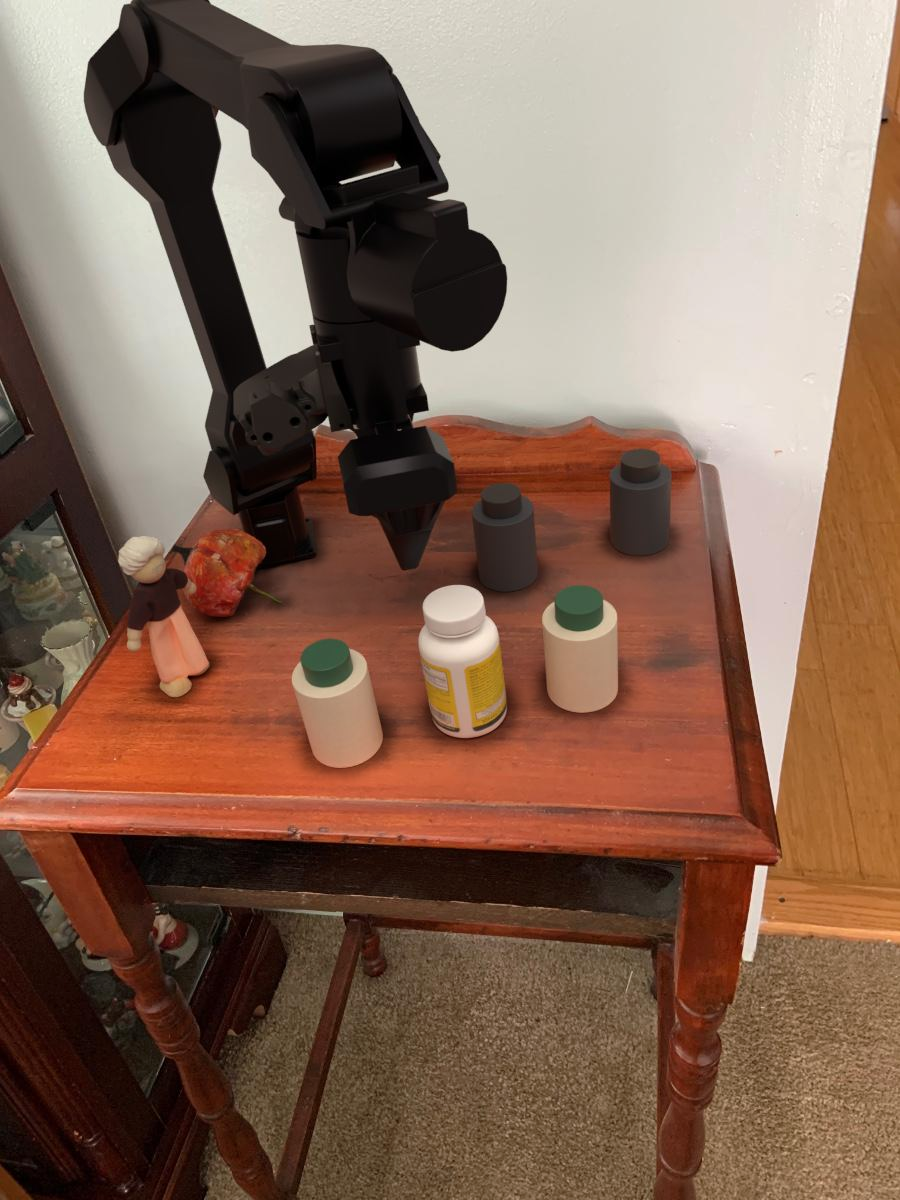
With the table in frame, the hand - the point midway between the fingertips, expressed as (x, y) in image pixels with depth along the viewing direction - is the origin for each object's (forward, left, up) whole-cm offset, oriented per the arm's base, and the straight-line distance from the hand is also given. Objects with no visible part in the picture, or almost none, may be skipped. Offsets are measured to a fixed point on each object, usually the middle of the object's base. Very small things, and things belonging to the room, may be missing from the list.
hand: (398, 531), depth 62 cm
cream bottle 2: (+7, +11, -12) cm, 17 cm away
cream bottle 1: (+7, -6, -12) cm, 15 cm away
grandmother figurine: (-5, -18, -12) cm, 22 cm away
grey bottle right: (-10, +21, -12) cm, 26 cm away
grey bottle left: (-9, +9, -12) cm, 17 cm away
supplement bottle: (+7, +2, -12) cm, 14 cm away
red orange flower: (-13, -14, -12) cm, 23 cm away
